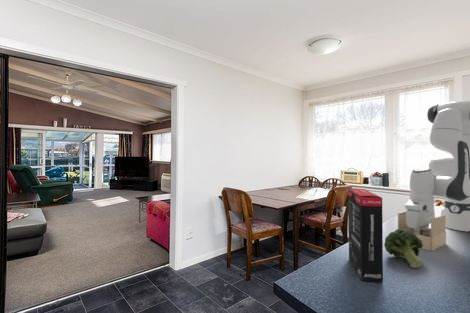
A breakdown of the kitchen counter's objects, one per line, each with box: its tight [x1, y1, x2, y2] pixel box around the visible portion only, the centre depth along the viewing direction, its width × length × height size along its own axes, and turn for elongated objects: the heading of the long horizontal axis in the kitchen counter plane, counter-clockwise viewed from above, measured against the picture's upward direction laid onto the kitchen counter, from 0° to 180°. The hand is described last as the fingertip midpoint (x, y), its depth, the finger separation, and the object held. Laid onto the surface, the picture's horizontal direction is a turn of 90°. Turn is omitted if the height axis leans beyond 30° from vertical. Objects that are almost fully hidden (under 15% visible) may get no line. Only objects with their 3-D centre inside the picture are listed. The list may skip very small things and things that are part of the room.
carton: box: [397, 210, 447, 252], centre depth 110 cm, size 15×13×13 cm
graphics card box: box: [347, 188, 384, 283], centre depth 84 cm, size 17×7×27 cm, turn 168°
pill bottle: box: [414, 222, 429, 237], centre depth 110 cm, size 5×5×10 cm
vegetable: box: [383, 228, 423, 269], centre depth 91 cm, size 12×13×15 cm
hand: (421, 234), depth 110 cm, fingers closed on pill bottle, 5 cm apart
